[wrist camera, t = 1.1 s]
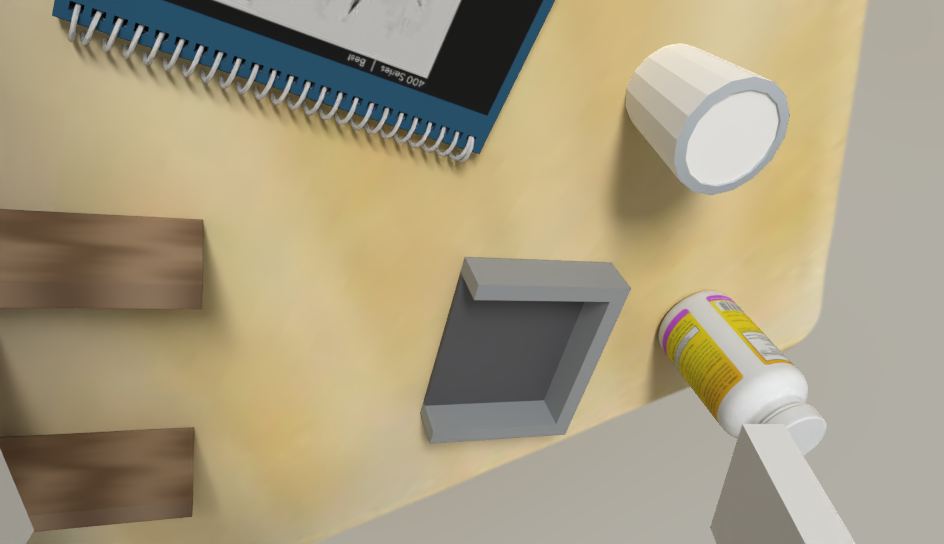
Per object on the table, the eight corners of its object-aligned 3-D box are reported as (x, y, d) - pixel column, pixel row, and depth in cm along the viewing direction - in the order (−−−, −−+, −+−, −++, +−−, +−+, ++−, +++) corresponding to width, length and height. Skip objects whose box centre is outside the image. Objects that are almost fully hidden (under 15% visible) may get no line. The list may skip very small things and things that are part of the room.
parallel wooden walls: (-14, 454, 44) (-40, 538, 39) (-61, 206, 34) (-102, 279, 30) (193, 442, 48) (192, 516, 44) (202, 219, 39) (202, 284, 34)
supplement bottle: (659, 362, 58) (750, 488, 49) (650, 308, 54) (749, 435, 44) (731, 330, 59) (836, 449, 49) (729, 274, 54) (844, 392, 45)
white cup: (719, 117, 45) (788, 168, 40) (622, 156, 45) (678, 214, 39) (717, 15, 41) (794, 57, 35) (608, 57, 40) (670, 107, 35)
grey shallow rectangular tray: (420, 413, 53) (430, 443, 51) (464, 257, 46) (478, 284, 43) (550, 406, 58) (564, 434, 55) (611, 262, 50) (631, 288, 48)
